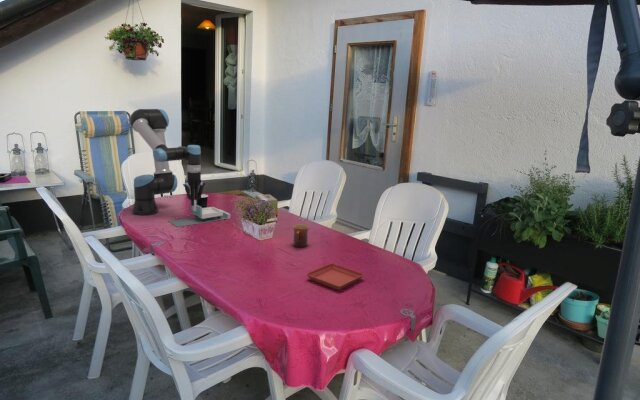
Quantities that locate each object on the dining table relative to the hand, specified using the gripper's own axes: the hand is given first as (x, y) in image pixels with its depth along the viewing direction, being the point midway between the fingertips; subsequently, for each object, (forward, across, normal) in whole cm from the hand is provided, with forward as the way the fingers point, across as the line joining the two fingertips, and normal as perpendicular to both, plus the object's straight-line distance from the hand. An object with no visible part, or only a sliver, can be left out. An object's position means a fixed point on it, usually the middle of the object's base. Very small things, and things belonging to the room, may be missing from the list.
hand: (194, 210), depth 259 cm
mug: (+6, +26, -71) cm, 76 cm away
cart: (+6, +9, 0) cm, 11 cm away
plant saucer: (+7, +13, -113) cm, 114 cm away
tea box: (+6, +38, -21) cm, 43 cm away
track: (+6, +4, 0) cm, 7 cm away
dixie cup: (+6, +12, +16) cm, 21 cm away
